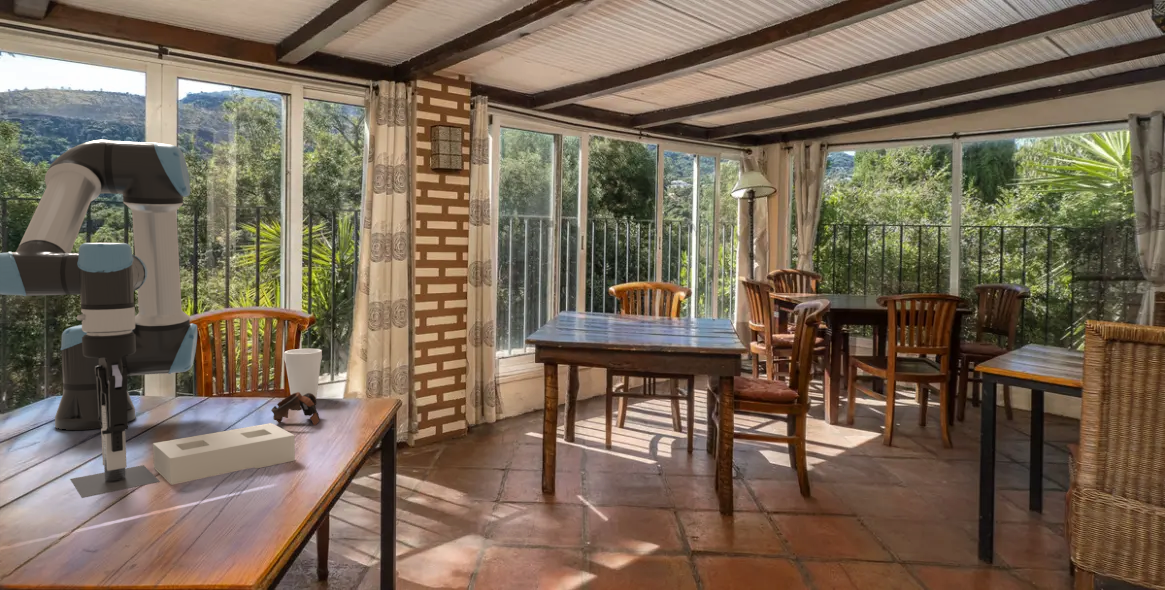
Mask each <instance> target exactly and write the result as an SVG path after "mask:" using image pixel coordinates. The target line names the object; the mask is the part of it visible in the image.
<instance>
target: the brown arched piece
mask: <svg viewBox="0 0 1165 590" xmlns="http://www.w3.org/2000/svg"><path fill="white" fill-rule="evenodd" d="M276 405H277V406H276ZM276 405H274V406H273V407H272V409H271V410H270V412H272V413H273V417H272V418H273V419H272V420H273V421H276V422H277V423H279V424H280V423H281V422H282V421H283V418H286V419H289V410H291V411H296V412H297V411H303V414H304V416H309V420H310V421H312V425H313V426H316V425H317V424H319V422H321V417H320V415H319V414H318V411H317V398H315V396H314V395H313V394H311V393H307V394H305V395H303V396H302V395H301V394H300V392H297V393H294V394H292V395H291V394H290V395H288V396H286V397H285V398H283V399H281V400H280V401H279V402H278V403H277V404H276Z"/></svg>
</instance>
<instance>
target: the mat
mask: <svg viewBox="0 0 1165 590" xmlns="http://www.w3.org/2000/svg"><path fill="white" fill-rule="evenodd" d="M125 471H126V477H125V478H123V479H120V480H116V481H106V480H105V472H100V473H95V474H89V475H83V476H78V477H74V478H70V479H69V480H70V481H71V483H72V484H73V486H74V487H75V489H76V491H77V492H78V494H79V496H80V497H81V499H85V498H89V497H92V496H98V495H103V494H107V493H113V492H117V491H122V490H127V489H131V488H136V487H142V486H145V485H151V484H155V483H156V484H157V483H160V482H161V481H160V480H159V479H158V478H157V477H156V476H155V474H153V473H152V471H150V470H149V468H148V467H147V466H146V465H145V464H142V465H137V466H131V467H126V468H125Z"/></svg>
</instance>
